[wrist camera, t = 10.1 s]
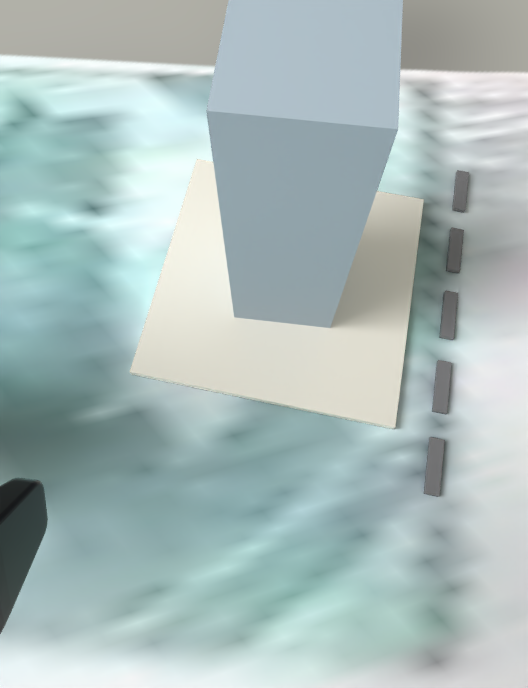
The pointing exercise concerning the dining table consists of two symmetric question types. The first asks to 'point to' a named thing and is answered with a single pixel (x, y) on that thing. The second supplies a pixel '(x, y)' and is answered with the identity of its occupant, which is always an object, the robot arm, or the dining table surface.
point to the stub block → (301, 146)
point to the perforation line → (447, 333)
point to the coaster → (283, 338)
